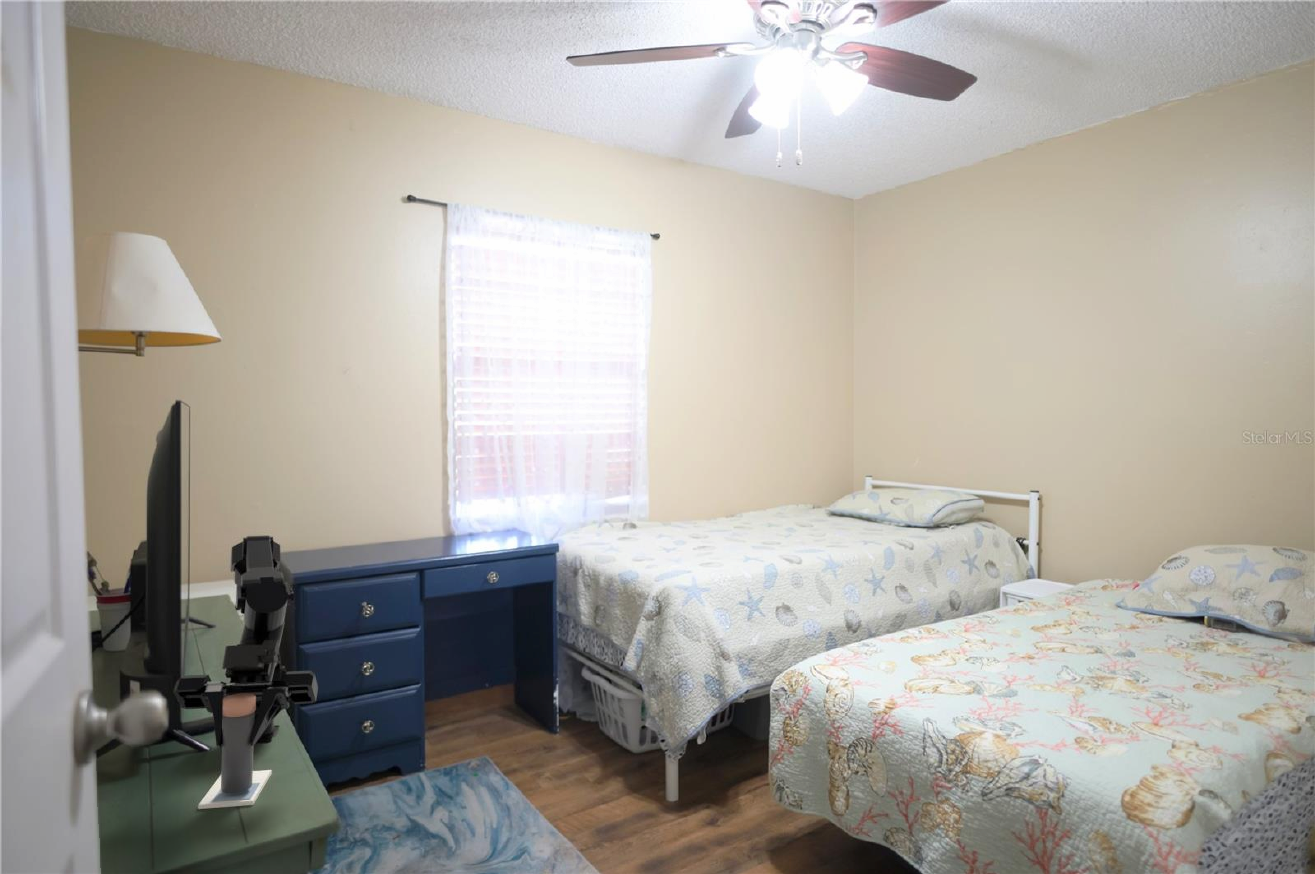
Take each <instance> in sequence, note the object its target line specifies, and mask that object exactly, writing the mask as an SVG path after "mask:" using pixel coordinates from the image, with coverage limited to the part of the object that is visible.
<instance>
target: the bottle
mask: <svg viewBox="0 0 1315 874" xmlns="http://www.w3.org/2000/svg"><path fill="white" fill-rule="evenodd" d="M255 707H256V695H255V694H252V693H239V694H233V695H230V696H227V697H225V698H224V699H223V711H222V714H223V737H222V746H221V773H220V775H221V791H222V792H223V793H228V794H232V793H239V792H242V791H245V790H247V789H249V788H250V787H251V786H252V778H253V771H254V769H253V768H254V746H251V745H250V739H251V733H252V730H253V727H254V715H255Z"/></svg>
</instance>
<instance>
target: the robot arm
mask: <svg viewBox="0 0 1315 874" xmlns="http://www.w3.org/2000/svg"><path fill="white" fill-rule="evenodd" d="M281 562H282V561H281V544H279V543H278V542H275V541H274V536H270V535H248V536H246V537H243V538H242V541H241V542H238V543H237V544H235V545H233V546H232V547H231V551H230V572H233V573H234V584H235V585H236V589H235V590H236V592H235V608H236V609H240V613H241V614H242V615H243V629H242V633H241V637H240V642H239V644H236V645H226V646H225V649H224V656H223V661H222V662H223V663H222V667H221V668H222V670H225V672H224V673H225V678H226V679H229V681H228V682H224V681H222V680H221V681H219V680H218V681H217V680H216V681H215V680H214V681H212V679H211V677H210V675H209V674H194V675H193V674H192V675H183V676H181V677H180V678H179V679H178V680H177V681H176V682H175V685H174V688H173V691H172V693H173V695H174V696H175V699H176V700H177V702H178V705H180V707H181V708H182V709H184V710H196V709H197V710H198V709H206V711H207V712H208V713H210V714H212V717H213V725H214V734H215V743H216V747H217V748H218V749H219V748H222V737H223V714H222V711H223V699H224V698H225V697H227V696H230V695H233V694H239V693H252V694H255V695H256V707H255V715H254V727H253V730H252V733H251V739H250V745H251V746H253V747H254V746H255V745H256V744H257V743H259V744H260V743H261V744H262V743H270V742H272V741H273V739H274V737H275V736H276V735H277V733H278V732H279V730H280V729H281V727H280V725H278V724H277V725H275V718H276V717H277V716H278V715H279V714H280V713H281V711H282V710H283V711H284V710H288V709H289V708H290V702H289V700H290V701H291V702H293V704H294V705H302V704H303V705H304V704H313V703H316V702H317V697H318V691H319V686H318V682H317V679H316V674H315V673H314V672H313V671H312V670H299V671H297V670H294V671H292V670H291V671H287V669H286V667H285V665H282V660H281V652H280V647H281V646H280V645H281V641H282V637H283V631H284V627H285V624H286V623H285V618H286V613H287V606H288V605H291V601H295V600H294V599H295V592H294V591H293V588H291V587H290V584H289V582H285V579H284V574H283V572H282V571H280V570H279V569H280V566H281Z"/></svg>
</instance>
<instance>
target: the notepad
mask: <svg viewBox="0 0 1315 874" xmlns="http://www.w3.org/2000/svg"><path fill="white" fill-rule="evenodd" d="M272 773H273V770H272V769H267V770H266V769H265V770H262V769H261V770H253V778H252V786H251V787H250V788H249V789H247V790H245V791H242V792H239V793H232V794H228V793H223V792H222V791H221V774H220V775H219V777H218V778H217V779H216V781H215V782H214V784H213V785H212V786H211V787H210V789H209V790H208V791H207V793H206V794H205V796H204V797H203V798H202V799H201V801H200V802H199V804H198V805H197V806H198V807H197V808H198V810H203V809H204V810H205V809H216V808H217V809H218V808H230V807H241V806H242V807H243V806H244V807H245V806H253V805H254V804H255V803H256V800H257V799H258V797H259V796H260V794H261V792H262V791H263V789H264V787H265V785H266V784H267V782H268V781H269V779H270V777H271V775H272Z"/></svg>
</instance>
